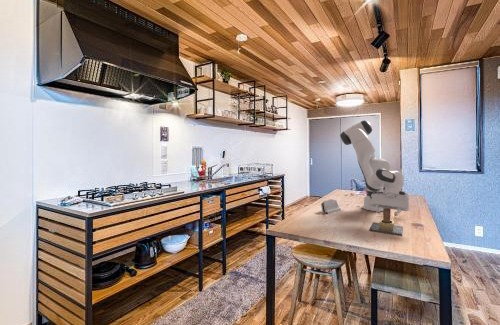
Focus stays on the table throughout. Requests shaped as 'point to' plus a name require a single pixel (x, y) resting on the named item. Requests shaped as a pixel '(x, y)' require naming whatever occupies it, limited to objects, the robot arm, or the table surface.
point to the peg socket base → (386, 228)
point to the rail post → (386, 215)
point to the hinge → (330, 206)
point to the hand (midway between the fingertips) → (386, 213)
